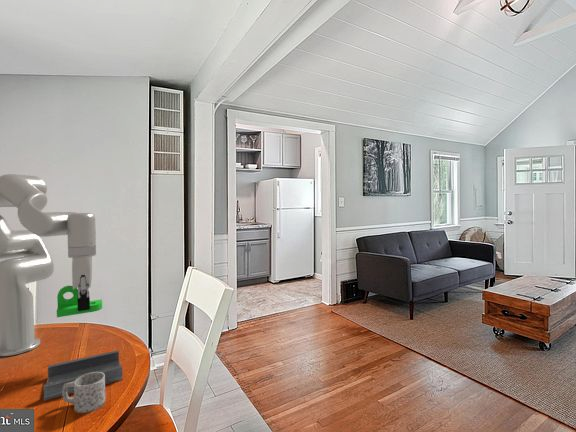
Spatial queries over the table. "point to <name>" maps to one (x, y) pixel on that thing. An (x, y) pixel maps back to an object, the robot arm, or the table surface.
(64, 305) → the mechanical part
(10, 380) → the table surface
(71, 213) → the robot arm
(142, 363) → the table surface
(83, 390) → the mug
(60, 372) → the cradle
